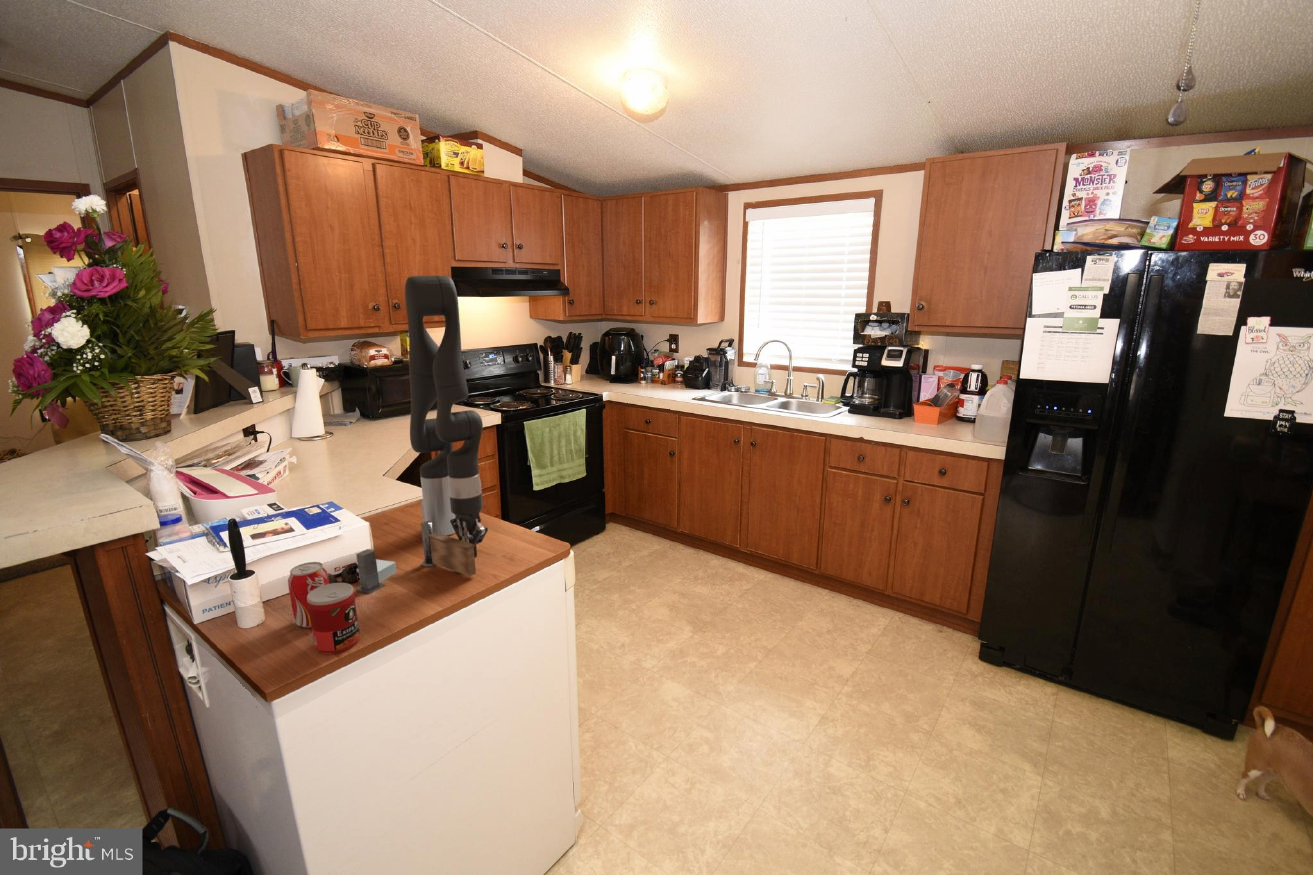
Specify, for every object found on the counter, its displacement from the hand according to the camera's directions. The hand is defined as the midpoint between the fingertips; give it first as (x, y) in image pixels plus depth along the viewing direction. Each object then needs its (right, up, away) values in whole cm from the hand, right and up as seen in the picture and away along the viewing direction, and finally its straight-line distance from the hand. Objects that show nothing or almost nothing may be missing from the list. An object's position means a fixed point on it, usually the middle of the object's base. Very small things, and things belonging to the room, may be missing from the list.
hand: (471, 557), depth 142 cm
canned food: (-15, -10, -32) cm, 37 cm away
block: (-21, -4, -4) cm, 22 cm away
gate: (-3, -2, -3) cm, 5 cm away
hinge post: (-11, -2, +2) cm, 11 cm away
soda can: (-25, -8, -24) cm, 36 cm away
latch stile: (-20, -5, -11) cm, 23 cm away
